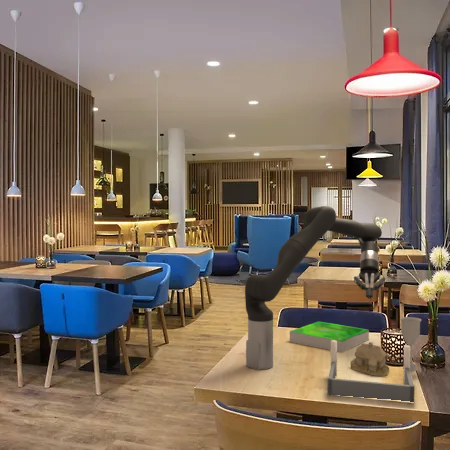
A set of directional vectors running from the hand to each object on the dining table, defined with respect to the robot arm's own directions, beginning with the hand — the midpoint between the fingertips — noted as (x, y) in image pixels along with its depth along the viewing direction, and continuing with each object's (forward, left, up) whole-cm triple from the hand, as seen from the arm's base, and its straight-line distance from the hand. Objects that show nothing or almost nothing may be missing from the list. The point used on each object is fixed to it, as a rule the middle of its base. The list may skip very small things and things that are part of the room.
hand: (369, 297), depth 198 cm
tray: (+5, +22, -23) cm, 32 cm away
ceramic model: (-19, -11, -23) cm, 31 cm away
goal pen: (-35, -20, -22) cm, 46 cm away
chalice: (-7, -20, -23) cm, 31 cm away
